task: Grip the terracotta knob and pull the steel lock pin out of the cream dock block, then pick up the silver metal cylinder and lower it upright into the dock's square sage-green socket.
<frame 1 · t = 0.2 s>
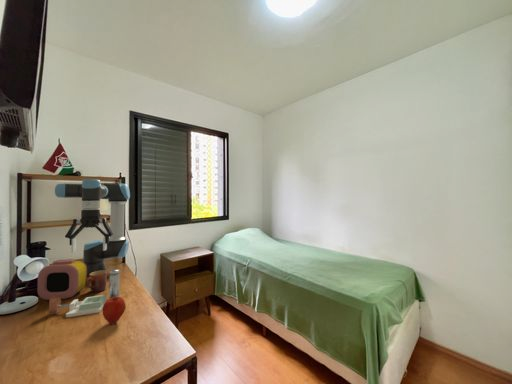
hand: (89, 250, 109), 27 cm above the table, fingers open, 13 cm apart
mug: (95, 292, 123), on the table
apple: (113, 323, 93), on the table
silver metal cylinder: (113, 298, 115), on the table
alarm clock: (63, 296, 118), on the table
dock: (88, 308, 105), on the table
pin: (72, 302, 102), point 4 cm above the table, slide at 0.0 cm
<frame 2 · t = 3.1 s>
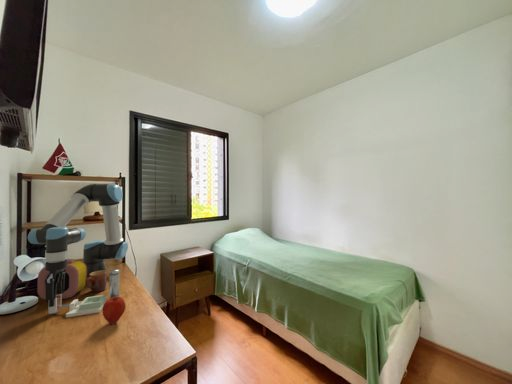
hand: (54, 310, 100), 1 cm above the table, fingers closed on pin, 4 cm apart
pin: (72, 302, 102), point 4 cm above the table, slide at 0.0 cm, touching gripper
everything else where it was.
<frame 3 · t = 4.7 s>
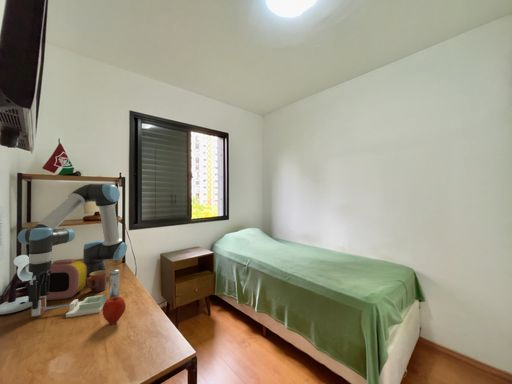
hand: (38, 312, 98), 1 cm above the table, fingers closed on pin, 4 cm apart
pin: (56, 304, 100), point 4 cm above the table, slide at 5.9 cm, touching gripper
everything else where it was.
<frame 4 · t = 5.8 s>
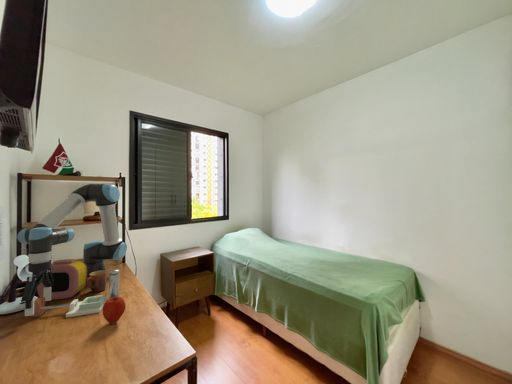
hand: (38, 307, 98), 4 cm above the table, fingers open, 13 cm apart
pin: (56, 304, 100), point 4 cm above the table, slide at 6.0 cm
everything else where it was.
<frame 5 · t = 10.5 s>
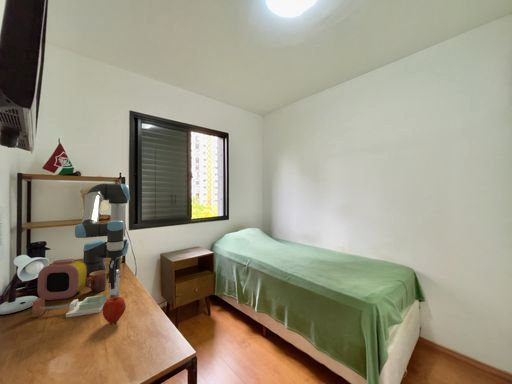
hand: (114, 292, 115), 3 cm above the table, fingers closed on silver metal cylinder, 4 cm apart
silver metal cylinder: (113, 298, 115), on the table, touching gripper
everything else where it was.
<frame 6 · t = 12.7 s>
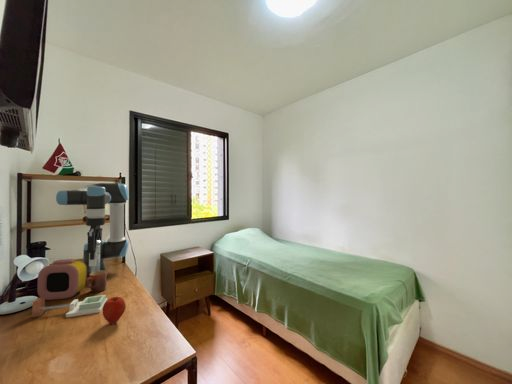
hand: (94, 264, 106), 21 cm above the table, fingers closed on silver metal cylinder, 4 cm apart
silver metal cylinder: (94, 271, 106), point 18 cm above the table, touching gripper
everything else where it was.
when the fingers open (6 cm above the table, at t = 15.1 s): silver metal cylinder stays where it is, resting on dock.
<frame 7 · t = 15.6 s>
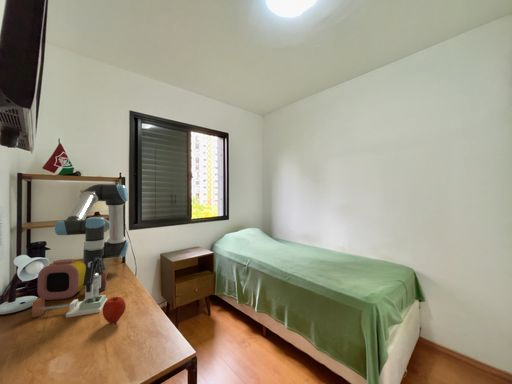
hand: (93, 292, 106), 7 cm above the table, fingers open, 11 cm apart
silver metal cylinder: (93, 304, 105), point 2 cm above the table, touching dock
everything else where it was.
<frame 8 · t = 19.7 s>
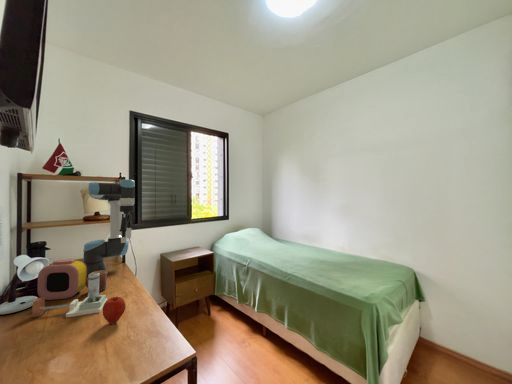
hand: (126, 240, 128), 29 cm above the table, fingers open, 13 cm apart
nothing on the table moved.
at the end: silver metal cylinder 0.1 cm from the target spot on the dock, point 1.5 cm above the dock's base; silver metal cylinder tilted 0°; pin slide at 6.0 cm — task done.
